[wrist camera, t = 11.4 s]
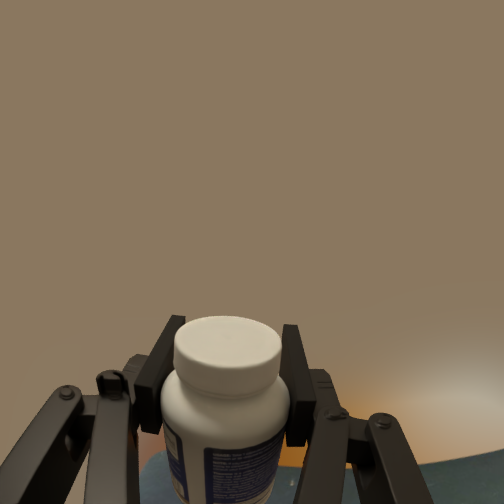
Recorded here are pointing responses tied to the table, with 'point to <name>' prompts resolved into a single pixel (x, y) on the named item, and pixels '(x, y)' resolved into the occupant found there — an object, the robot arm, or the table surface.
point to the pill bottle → (224, 411)
